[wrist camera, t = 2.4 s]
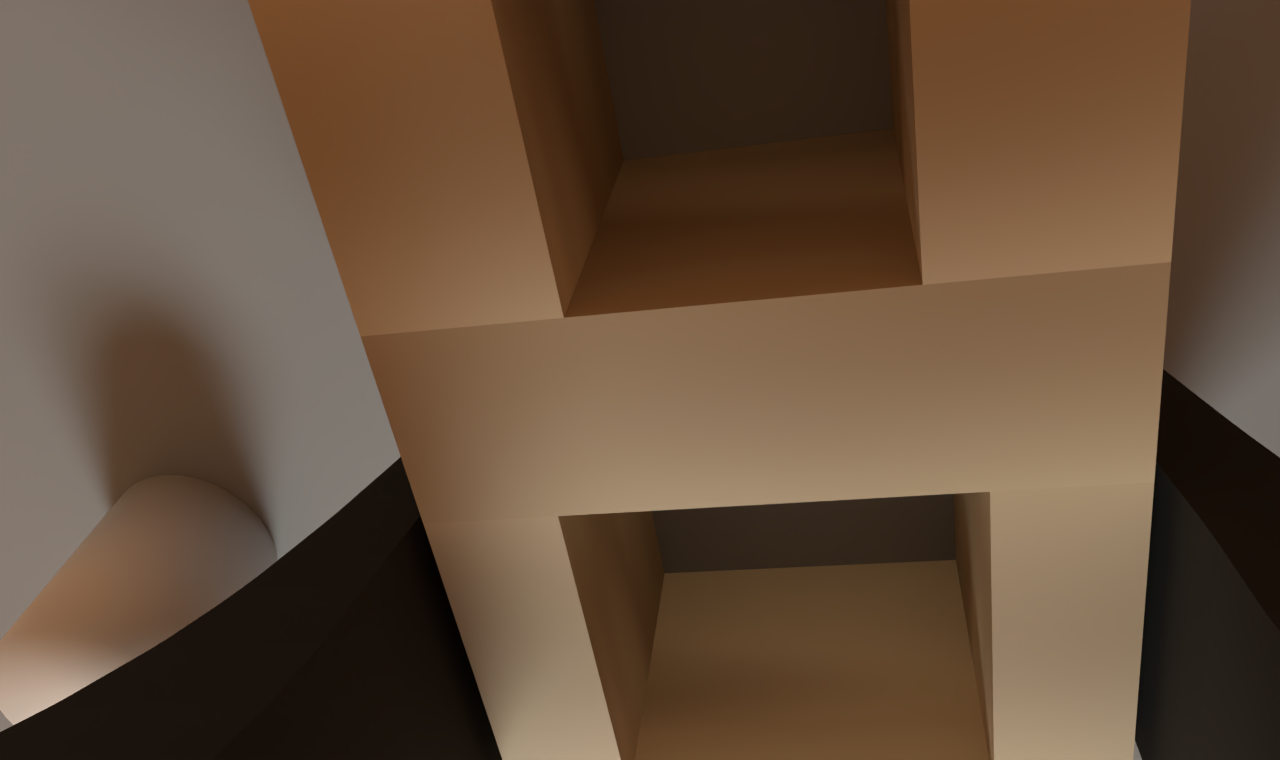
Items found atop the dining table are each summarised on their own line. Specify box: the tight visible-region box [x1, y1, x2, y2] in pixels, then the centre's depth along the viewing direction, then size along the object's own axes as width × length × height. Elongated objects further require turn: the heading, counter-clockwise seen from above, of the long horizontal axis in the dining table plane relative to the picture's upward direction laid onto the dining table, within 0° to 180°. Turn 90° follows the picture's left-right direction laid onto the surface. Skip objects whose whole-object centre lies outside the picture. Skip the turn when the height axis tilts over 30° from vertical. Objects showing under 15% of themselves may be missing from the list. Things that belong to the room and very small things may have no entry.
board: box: [0, 0, 1280, 760], centre depth 12 cm, size 22×22×4 cm
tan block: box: [248, 0, 1191, 760], centre depth 10 cm, size 14×5×3 cm, turn 10°
